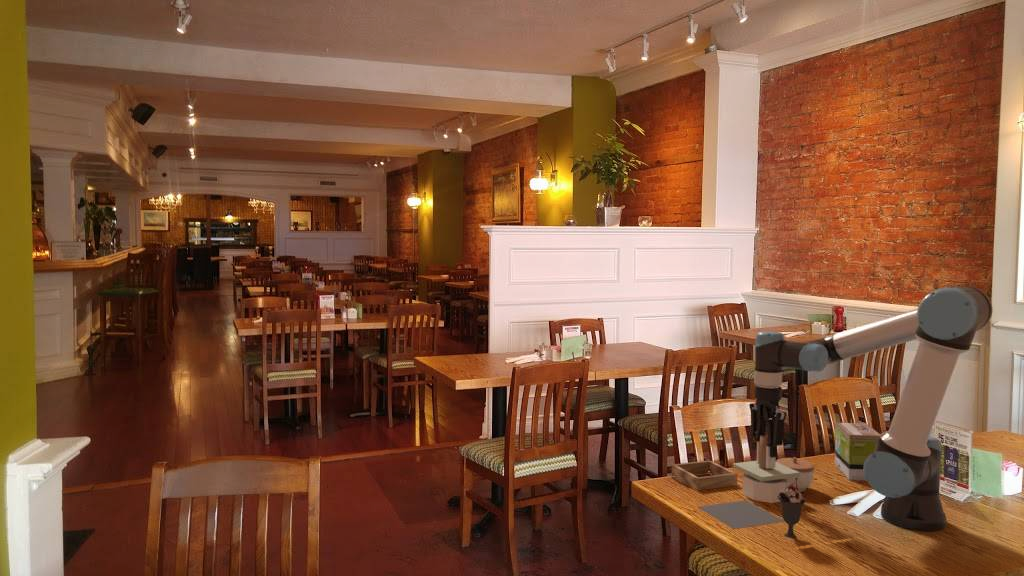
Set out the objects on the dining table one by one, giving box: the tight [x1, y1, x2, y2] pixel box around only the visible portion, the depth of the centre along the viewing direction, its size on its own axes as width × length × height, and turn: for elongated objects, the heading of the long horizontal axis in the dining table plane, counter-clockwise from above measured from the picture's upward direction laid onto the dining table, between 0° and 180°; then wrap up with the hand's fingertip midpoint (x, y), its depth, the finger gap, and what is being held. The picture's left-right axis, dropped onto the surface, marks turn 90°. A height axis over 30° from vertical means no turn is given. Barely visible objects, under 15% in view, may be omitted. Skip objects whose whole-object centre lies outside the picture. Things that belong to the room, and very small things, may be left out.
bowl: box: [742, 473, 788, 504], centre depth 208 cm, size 12×12×6 cm
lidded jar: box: [776, 456, 815, 493], centre depth 215 cm, size 11×11×9 cm
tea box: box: [834, 422, 881, 482], centre depth 229 cm, size 15×10×15 cm, turn 172°
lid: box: [732, 434, 800, 481], centre depth 207 cm, size 13×13×10 cm
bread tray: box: [671, 460, 738, 491], centre depth 220 cm, size 14×14×4 cm
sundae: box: [778, 478, 807, 539], centre depth 179 cm, size 7×7×15 cm
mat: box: [697, 499, 785, 530], centre depth 193 cm, size 16×16×1 cm
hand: (765, 465), depth 207 cm, fingers closed on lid, 3 cm apart
